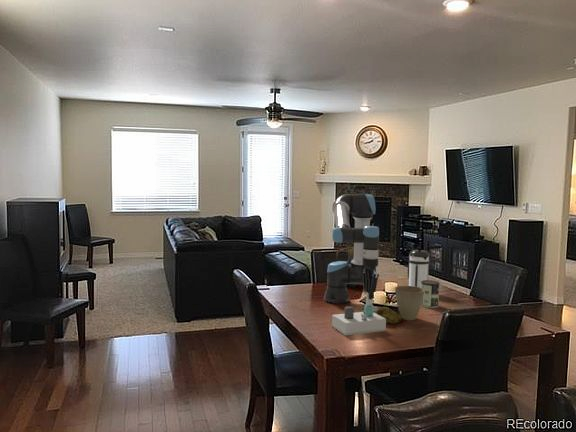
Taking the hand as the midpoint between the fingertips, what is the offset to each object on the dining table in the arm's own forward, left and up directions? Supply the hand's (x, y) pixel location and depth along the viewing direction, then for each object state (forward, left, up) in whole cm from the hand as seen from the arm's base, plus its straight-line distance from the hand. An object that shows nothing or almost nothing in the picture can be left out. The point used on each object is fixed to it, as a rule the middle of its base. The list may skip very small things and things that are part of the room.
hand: (369, 305), depth 237 cm
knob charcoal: (0, -11, -10) cm, 15 cm away
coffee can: (-25, +56, -12) cm, 62 cm away
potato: (-4, +15, -12) cm, 19 cm away
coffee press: (-57, +70, -12) cm, 91 cm away
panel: (0, -5, -11) cm, 13 cm away
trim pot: (+5, -5, -5) cm, 9 cm away
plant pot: (-7, +29, -12) cm, 32 cm away
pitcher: (-87, +36, -12) cm, 95 cm away
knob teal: (0, 0, -10) cm, 10 cm away
